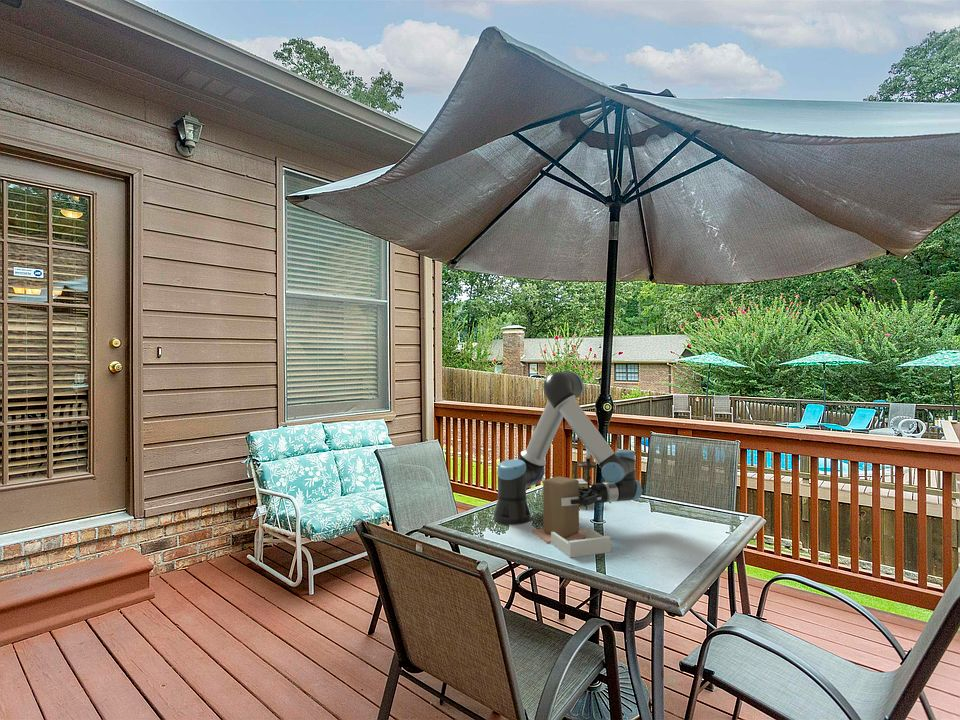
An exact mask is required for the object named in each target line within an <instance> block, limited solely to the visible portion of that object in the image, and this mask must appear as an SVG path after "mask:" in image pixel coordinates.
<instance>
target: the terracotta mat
mask: <svg viewBox="0 0 960 720" xmlns="http://www.w3.org/2000/svg"><path fill="white" fill-rule="evenodd" d="M530 531H532V532H531V533H532V534H534V533H535V534H536V536H537V538H539V537H540V538H539V539H541V540H542V539H543V540H544V541H543V540H542V541H543V542H544V543H546V542H547V543H546V544H551V543H550V542H551V534H548V533H545V532H544V530H543V528H535V529H531V530H530ZM535 534H534V535H535ZM583 538H585V539H586V531H584V530H583V529H581V528H579V532H578V533H575V534H573V535H570V536H568V537H565V538H564V539H565V540H569V541H573V540H574V539H577V540H581V539H583Z"/></svg>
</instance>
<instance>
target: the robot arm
mask: <svg viewBox="0 0 960 720" xmlns="http://www.w3.org/2000/svg"><path fill="white" fill-rule="evenodd" d="M584 386H585V385H584V382H583V379H582V377H581V376H580V375H579V374H577V373H576V372H574V371H570V370H565V371H555V372H551V373H550V374H548V375H547V376H546V377H545V379H544V381H543V392H544V393H543V394H544V395H545V398H546V401H547V402H546V405H545V407H544V409H543V411H542V414H541V415H540V418H539V420H538V422H537V425H536V427H535V428H534V431H533V433H532V435H531V438H530V440H529V443H528V445H527V447H526V449H523V450H522V451H520V453H519V456H518V458H514V459H513V458H512V459H509V460H508V459H506V460H503V461H501V462H500V463H499V464H498V465H497V472H496V475H497V501H496V504H495V508H494V511H493V520H494V521H496V522H497V523H500V524H504V525H520V524H521V525H522V524H525V523H529V522H530V521H531V519H532V518H531V511H530V508H529V504H528V502H527V489H528V488H530V487H533V486H535V485H537V484H538V483H540V481H542V480H543V478H544V476H545V473H546V472H545V471H546V470H545V467H546V465H547V461H546V459H545V458H546V456H547V454H548V452H549V449H550V447H551V445H552V442H553V440H554V439H555V436H556V435H557V434H556V433H557V431H558V430H559V428H560V425H561V422H562V420H563V419H565V421H566V422H567V424H568V426H570V428H571V429H572V431H573V432H574V433H575V435H576V436H577V438H578V439H579V440H580V442H581V443H582V444H583V445H584V447H585V449H586V448H587V450H588V451H589V453H590V456H591V458H592V459H593V460H594V462H597V464H598V465H599V468H600V469H601V476H602V479H603V480H604V481H603V482H596V483H592V484H591V485H590V489H589V488H585V487H579V497H569V498H561V504H562V506H569V505H583V506H584V507H588V506H590V505H593V504H596V505H597V504H604V503H605V504H606V503H609V504H612V502H613V503H614V502H624V501H627V502H628V501H629V502H630V501H634V500H638V499H640V498H641V496H642V494H643V488H642V483H640V481H639V480H637V479H636V454H635V453H636V452H634V451H633V450H630V449H617V450H615V452H614V450H613V449H612V448H611V446H610V445H609V444H608V442H607V441H606V439H605V438H604V437H603V435H602V434H601V433H600V431H599V430H598V428H597V427H596V426H595V425H594V424H593V422H592V421H591V419H590V418H589V416H588V415H587V414H586V412H585V411H584V410H583V408H582V407H581V406H580V404H579V403H578V402H577V400H576V399H577V398H579V397H580V396H581V395H582V393H583V390H584ZM587 505H588V506H587ZM583 506H582V507H583Z"/></svg>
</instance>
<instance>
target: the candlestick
mask: <svg viewBox="0 0 960 720" xmlns="http://www.w3.org/2000/svg"><path fill="white" fill-rule="evenodd" d="M585 450H586V451H585V453H586V455H585V457H584V459H585V461H584V460H583V461H578V462H577V463H576V466H577V467H579V468H585V469H586V476H585V477H584V478H585V480H586V482H587V483H588V488H589V489H590V488H591V483H592V482H591V480H592V476H591V473H590V472H591V469H592V468H593V469H594V468H597V467H596V461H591V460H592V459H593V457H591V454H590V453H589V451H588V450H587V448H586V447H585Z"/></svg>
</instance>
